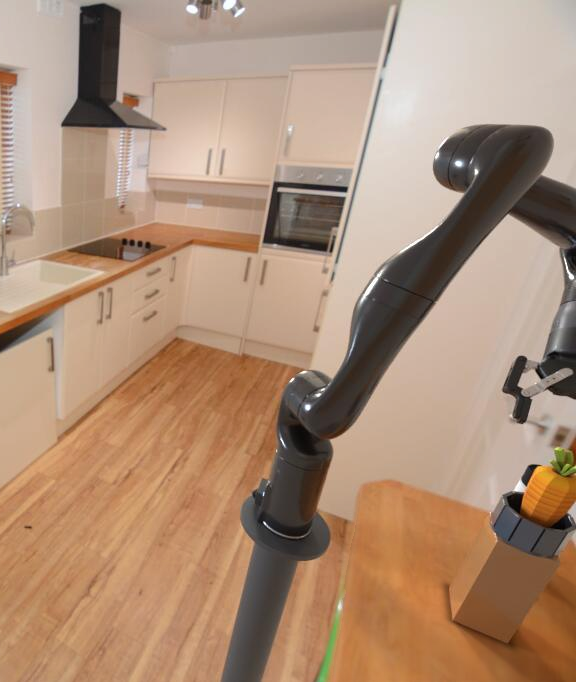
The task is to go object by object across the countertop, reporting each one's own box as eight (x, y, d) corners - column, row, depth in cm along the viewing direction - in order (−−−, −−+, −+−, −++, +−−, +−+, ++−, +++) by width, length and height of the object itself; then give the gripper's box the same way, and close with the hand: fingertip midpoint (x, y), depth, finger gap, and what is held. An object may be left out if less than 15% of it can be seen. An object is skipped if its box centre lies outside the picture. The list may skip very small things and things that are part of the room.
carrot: (557, 540, 66) (610, 458, 59) (537, 551, 64) (590, 468, 58) (515, 515, 70) (561, 436, 64) (496, 525, 68) (540, 445, 62)
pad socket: (449, 621, 74) (508, 517, 64) (445, 584, 80) (498, 484, 70) (511, 648, 70) (584, 541, 60) (502, 607, 76) (567, 504, 66)
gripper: (640, 358, 69) (617, 458, 66) (514, 334, 77) (489, 421, 74) (670, 338, 63) (647, 446, 60) (530, 315, 71) (503, 409, 68)
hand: (559, 433), depth 67 cm, fingers open, 8 cm apart
